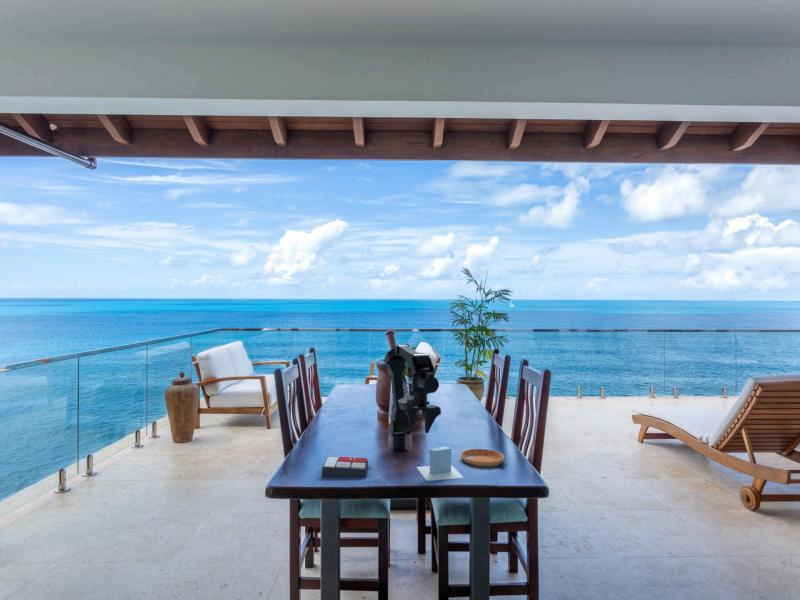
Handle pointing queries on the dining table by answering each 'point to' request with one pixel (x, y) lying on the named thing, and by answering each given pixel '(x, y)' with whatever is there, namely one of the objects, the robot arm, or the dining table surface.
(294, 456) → the dining table surface
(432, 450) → the box
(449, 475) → the mat
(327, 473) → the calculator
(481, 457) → the saucer
